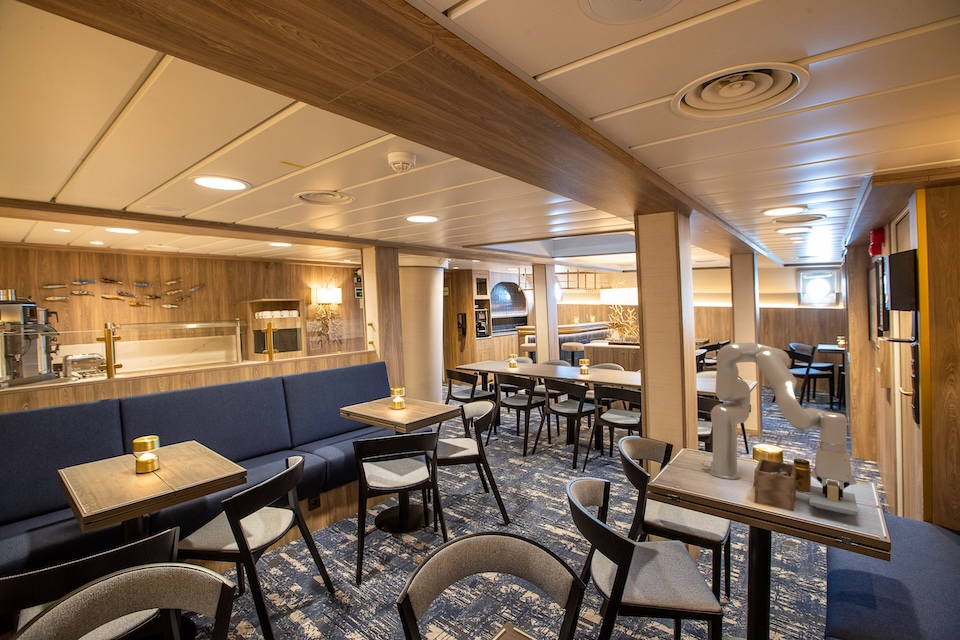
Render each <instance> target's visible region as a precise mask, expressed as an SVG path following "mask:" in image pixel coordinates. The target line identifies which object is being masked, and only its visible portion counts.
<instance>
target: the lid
mask: <svg viewBox="0 0 960 640" xmlns="http://www.w3.org/2000/svg"><path fill="white" fill-rule="evenodd" d="M826 483H827V498H826V497H825V494H823V487H822V486H821V487H819V486H815V485H812V484H811V485H810V494H809V506H813V507H815V508H817V509H822V510H827V511H829V512H830V511H831V512H835V513H841V514H846V515H849V516H851V515H854V516H859V509H858V508H859V507H858V504H857V500H856V499H857V498H856V495H855V493H852V492H846V491H843V498H841V497H840V500H838V486H839V481H836V480H831V479H827V481H826Z"/></svg>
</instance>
